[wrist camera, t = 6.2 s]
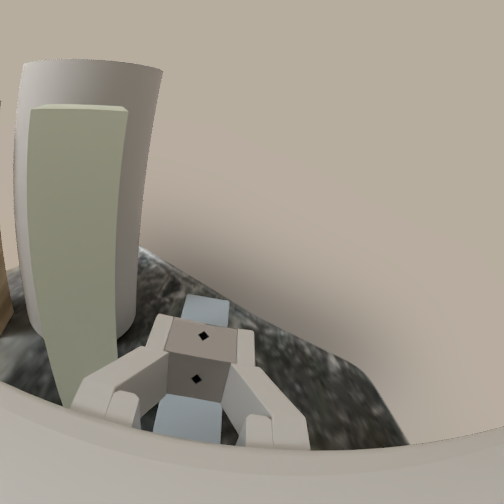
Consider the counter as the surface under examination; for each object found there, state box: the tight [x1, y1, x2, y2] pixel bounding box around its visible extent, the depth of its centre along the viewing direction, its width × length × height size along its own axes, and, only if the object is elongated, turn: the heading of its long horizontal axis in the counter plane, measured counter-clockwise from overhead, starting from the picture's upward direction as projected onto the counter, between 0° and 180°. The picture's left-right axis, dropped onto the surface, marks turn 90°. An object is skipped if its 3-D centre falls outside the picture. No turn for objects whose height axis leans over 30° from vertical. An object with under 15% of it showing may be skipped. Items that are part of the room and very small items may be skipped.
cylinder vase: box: [13, 59, 163, 339], centre depth 26 cm, size 12×12×25 cm
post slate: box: [153, 294, 229, 444], centre depth 25 cm, size 4×4×22 cm
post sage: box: [27, 104, 129, 409], centre depth 18 cm, size 4×4×22 cm
